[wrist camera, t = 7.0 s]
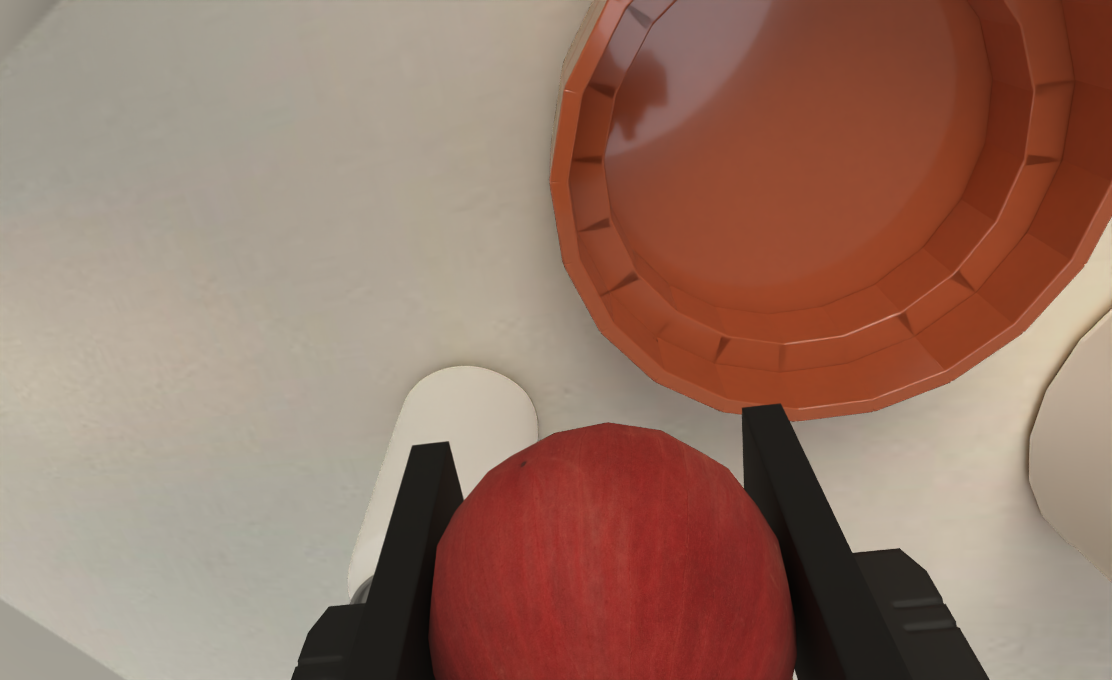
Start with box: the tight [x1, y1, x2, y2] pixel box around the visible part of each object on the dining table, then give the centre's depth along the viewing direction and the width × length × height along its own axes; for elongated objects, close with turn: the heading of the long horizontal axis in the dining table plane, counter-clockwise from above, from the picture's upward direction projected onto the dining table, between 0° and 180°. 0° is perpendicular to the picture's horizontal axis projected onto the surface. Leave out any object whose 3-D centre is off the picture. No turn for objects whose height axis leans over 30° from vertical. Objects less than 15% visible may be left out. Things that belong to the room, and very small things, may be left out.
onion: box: [428, 422, 797, 680], centre depth 12 cm, size 6×6×8 cm
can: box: [347, 366, 538, 605], centre depth 30 cm, size 6×6×12 cm
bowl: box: [549, 0, 1112, 422], centre depth 26 cm, size 18×18×6 cm
